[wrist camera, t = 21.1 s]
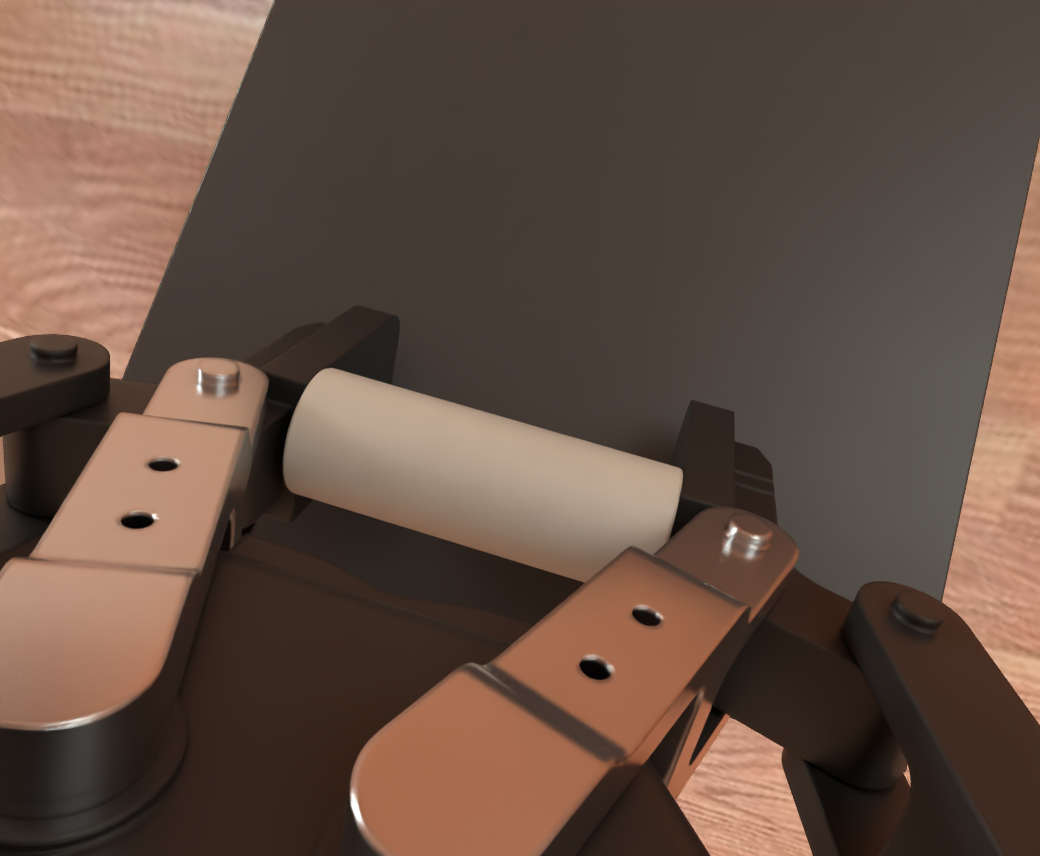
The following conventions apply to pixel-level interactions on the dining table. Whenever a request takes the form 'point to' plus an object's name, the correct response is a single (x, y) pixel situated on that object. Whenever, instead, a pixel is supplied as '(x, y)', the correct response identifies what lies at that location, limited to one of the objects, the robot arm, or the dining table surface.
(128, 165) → the dining table surface
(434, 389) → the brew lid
